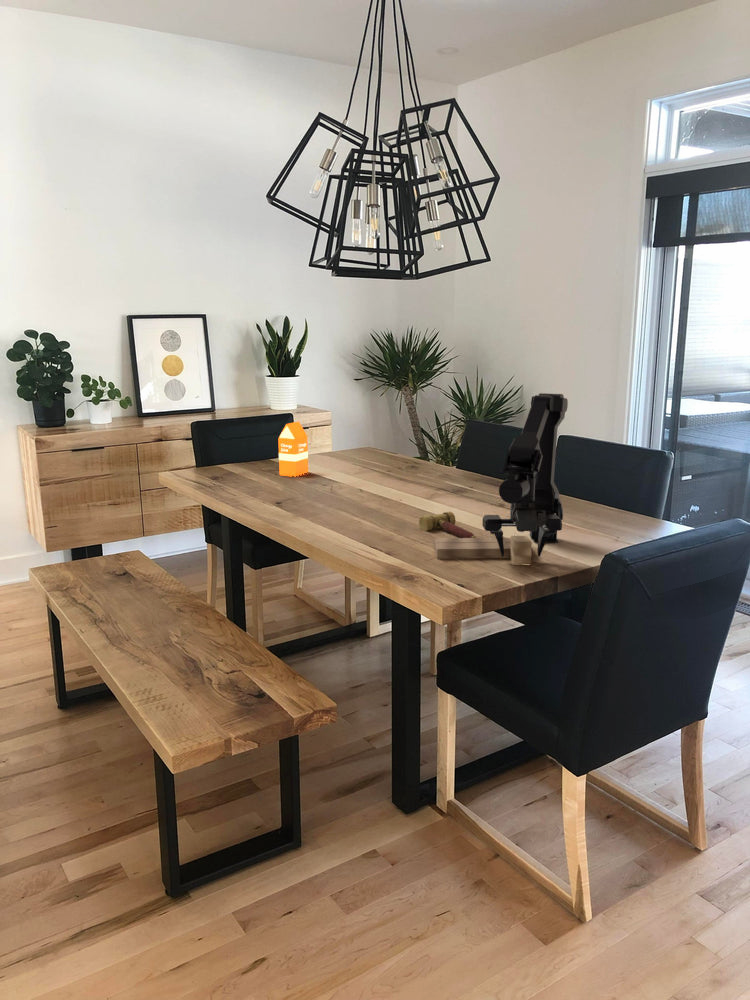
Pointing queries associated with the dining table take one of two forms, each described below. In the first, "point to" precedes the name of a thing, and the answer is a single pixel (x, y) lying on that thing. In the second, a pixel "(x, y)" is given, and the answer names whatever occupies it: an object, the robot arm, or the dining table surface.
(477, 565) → the dining table surface
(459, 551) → the plank
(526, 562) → the block
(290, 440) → the orange juice
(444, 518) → the gavel
